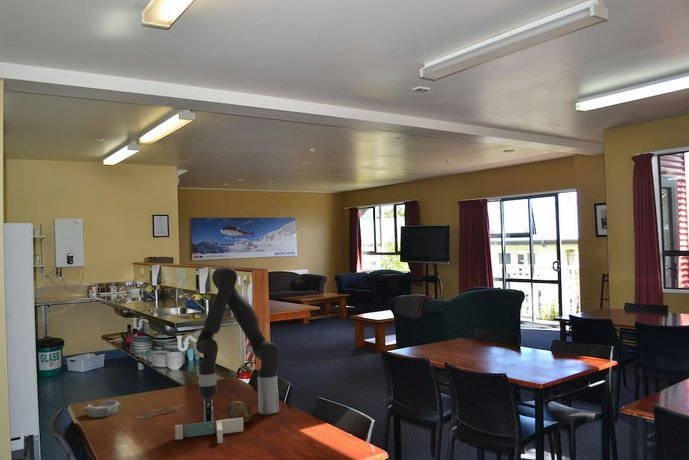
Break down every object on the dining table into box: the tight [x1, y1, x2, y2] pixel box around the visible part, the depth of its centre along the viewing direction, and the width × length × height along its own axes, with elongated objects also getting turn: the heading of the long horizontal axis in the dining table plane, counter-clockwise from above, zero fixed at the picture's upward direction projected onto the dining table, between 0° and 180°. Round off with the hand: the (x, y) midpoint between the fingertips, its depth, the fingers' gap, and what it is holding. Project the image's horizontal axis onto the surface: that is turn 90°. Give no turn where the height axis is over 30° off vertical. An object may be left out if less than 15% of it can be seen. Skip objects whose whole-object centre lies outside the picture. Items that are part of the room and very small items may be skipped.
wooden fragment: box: [134, 404, 184, 420], centre depth 260 cm, size 26×11×1 cm, turn 137°
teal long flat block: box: [183, 420, 216, 438], centre depth 225 cm, size 13×2×5 cm, turn 106°
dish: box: [84, 399, 122, 418], centre depth 261 cm, size 14×14×5 cm
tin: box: [227, 400, 253, 424], centre depth 244 cm, size 15×3×8 cm, turn 47°
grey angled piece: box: [174, 417, 244, 444], centre depth 221 cm, size 28×13×5 cm, turn 106°
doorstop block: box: [203, 405, 214, 422], centre depth 236 cm, size 4×4×7 cm
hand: (208, 422), depth 236 cm, fingers closed on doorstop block, 4 cm apart
